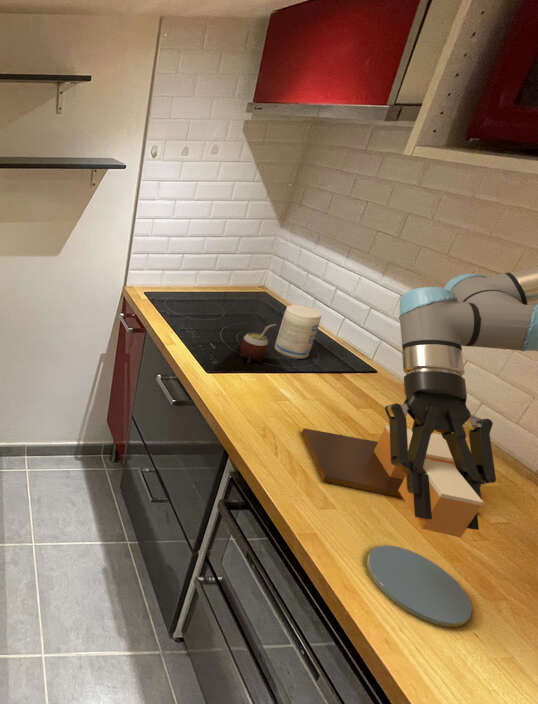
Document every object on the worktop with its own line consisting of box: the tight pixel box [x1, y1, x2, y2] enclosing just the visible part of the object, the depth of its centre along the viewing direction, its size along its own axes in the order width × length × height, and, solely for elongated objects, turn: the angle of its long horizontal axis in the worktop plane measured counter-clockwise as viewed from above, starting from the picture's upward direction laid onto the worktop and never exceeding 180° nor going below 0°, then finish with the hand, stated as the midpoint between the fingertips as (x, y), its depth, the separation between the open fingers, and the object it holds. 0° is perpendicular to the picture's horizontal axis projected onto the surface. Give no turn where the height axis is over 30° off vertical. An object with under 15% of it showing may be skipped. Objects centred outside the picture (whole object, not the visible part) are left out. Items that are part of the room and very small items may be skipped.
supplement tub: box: [274, 304, 322, 360], centre depth 140 cm, size 10×10×15 cm
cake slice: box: [398, 459, 484, 538], centre depth 71 cm, size 5×8×8 cm, turn 162°
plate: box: [366, 545, 473, 628], centre depth 73 cm, size 13×13×1 cm
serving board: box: [301, 427, 403, 499], centre depth 97 cm, size 26×16×2 cm, turn 73°
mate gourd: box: [239, 323, 278, 364], centre depth 135 cm, size 8×8×15 cm
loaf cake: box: [374, 424, 457, 480], centre depth 94 cm, size 12×8×8 cm, turn 73°
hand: (445, 522), depth 68 cm, fingers closed on cake slice, 5 cm apart
